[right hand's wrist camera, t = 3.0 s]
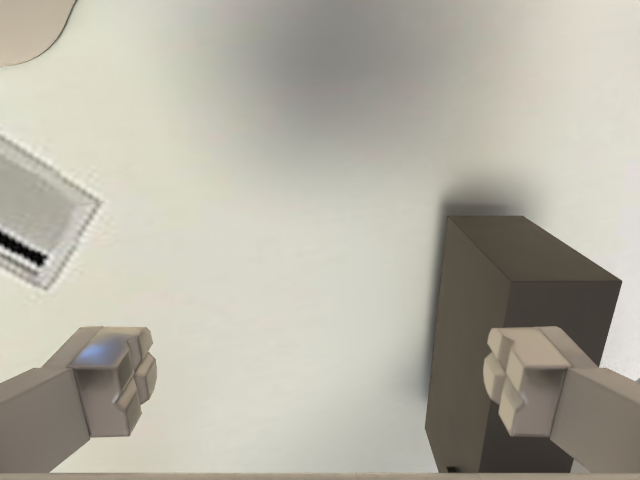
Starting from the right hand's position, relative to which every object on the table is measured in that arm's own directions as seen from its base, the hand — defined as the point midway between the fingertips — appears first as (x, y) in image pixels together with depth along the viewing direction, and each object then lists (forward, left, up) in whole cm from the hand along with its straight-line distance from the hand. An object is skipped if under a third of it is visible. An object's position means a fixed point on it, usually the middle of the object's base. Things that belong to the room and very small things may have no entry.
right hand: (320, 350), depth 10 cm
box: (+16, +14, -25) cm, 33 cm away
